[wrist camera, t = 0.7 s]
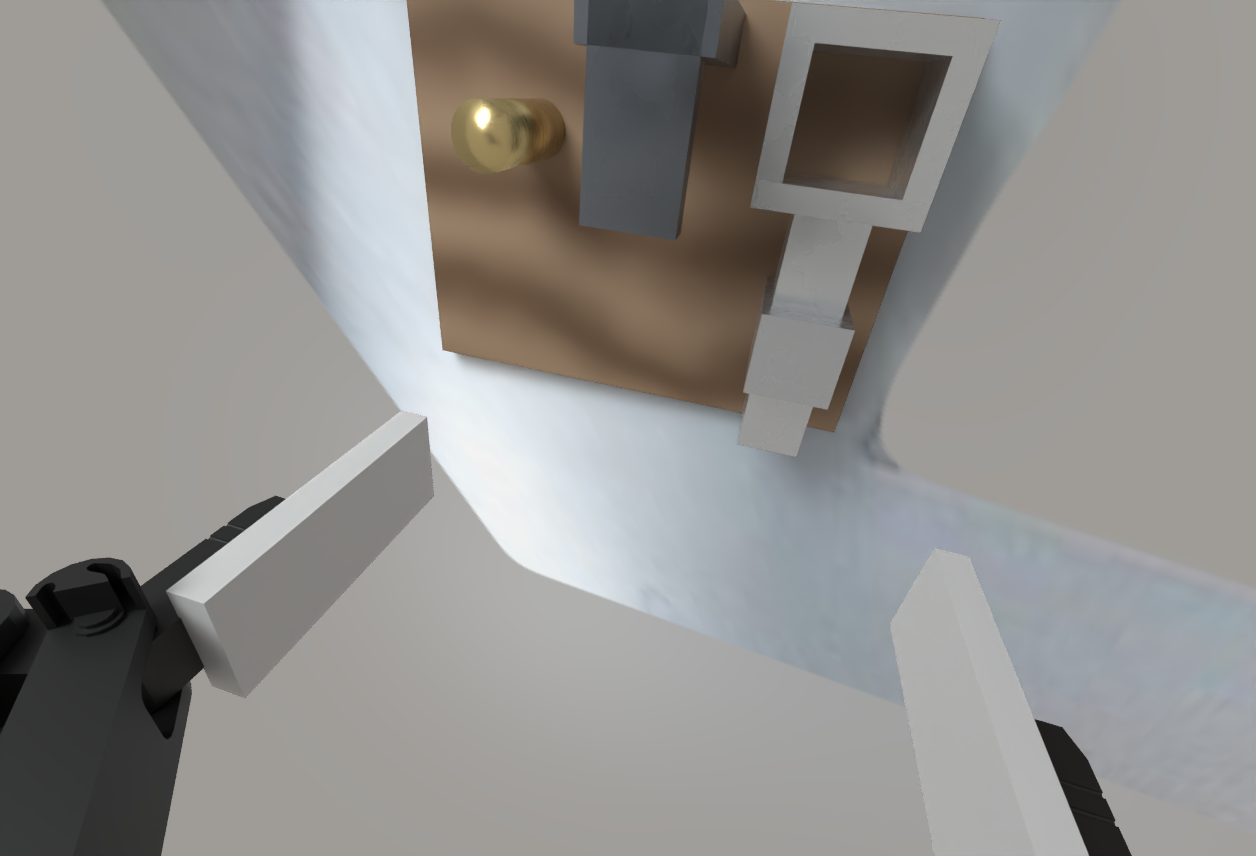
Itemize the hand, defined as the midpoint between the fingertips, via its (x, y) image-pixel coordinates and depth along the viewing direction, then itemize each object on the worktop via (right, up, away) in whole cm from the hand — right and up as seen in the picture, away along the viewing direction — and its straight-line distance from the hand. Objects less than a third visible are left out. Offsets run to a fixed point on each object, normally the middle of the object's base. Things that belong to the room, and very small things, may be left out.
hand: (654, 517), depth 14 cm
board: (0, +14, +16) cm, 21 cm away
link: (+9, +11, +14) cm, 20 cm away
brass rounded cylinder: (-5, +18, +15) cm, 24 cm away
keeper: (+2, +18, +13) cm, 22 cm away
